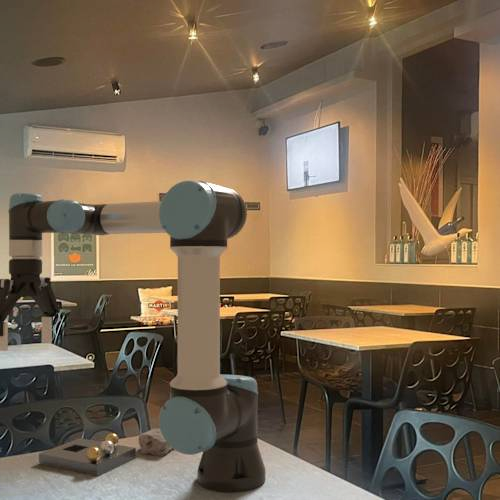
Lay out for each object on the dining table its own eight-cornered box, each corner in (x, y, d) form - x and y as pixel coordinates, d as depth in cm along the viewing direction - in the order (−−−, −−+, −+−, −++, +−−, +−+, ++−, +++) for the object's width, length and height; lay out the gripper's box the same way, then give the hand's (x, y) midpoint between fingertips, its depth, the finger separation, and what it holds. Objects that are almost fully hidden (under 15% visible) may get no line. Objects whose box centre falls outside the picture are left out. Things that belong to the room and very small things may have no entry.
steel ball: (117, 453, 146) (117, 439, 146) (108, 457, 143) (108, 443, 143) (106, 451, 148) (106, 438, 148) (97, 455, 145) (97, 441, 145)
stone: (187, 441, 164) (151, 441, 165) (185, 420, 163) (150, 420, 165) (173, 462, 151) (134, 462, 152) (171, 439, 150) (133, 439, 152)
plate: (135, 458, 150) (135, 447, 150) (97, 476, 138) (97, 465, 138) (79, 447, 158) (79, 438, 158) (38, 463, 146) (38, 453, 146)
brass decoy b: (121, 445, 152) (121, 432, 152) (112, 449, 149) (112, 435, 149) (111, 443, 154) (111, 430, 154) (102, 447, 151) (102, 434, 151)
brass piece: (103, 460, 141) (103, 446, 141) (94, 464, 138) (94, 450, 138) (93, 458, 143) (93, 444, 143) (83, 462, 140) (83, 448, 140)
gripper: (52, 258, 160) (52, 339, 159) (-30, 258, 137) (-31, 352, 137) (74, 258, 156) (74, 341, 156) (-7, 258, 134) (-7, 355, 134)
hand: (25, 346), depth 147 cm, fingers open, 13 cm apart
